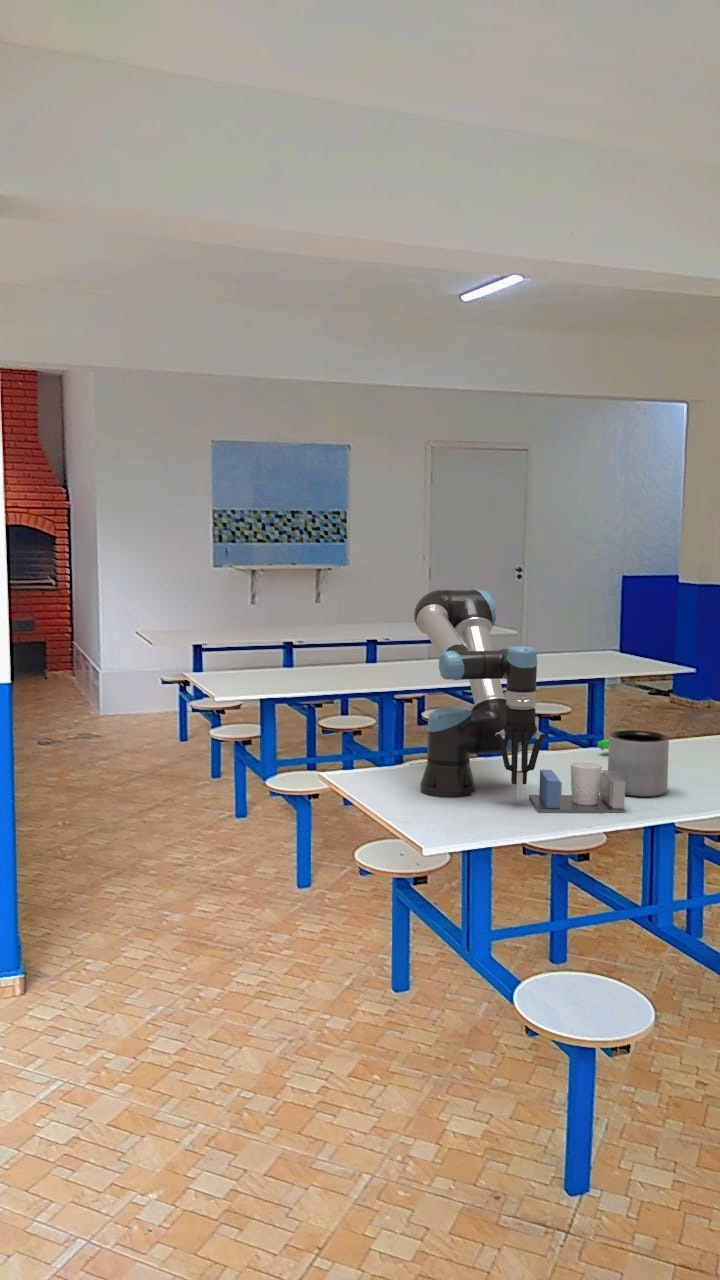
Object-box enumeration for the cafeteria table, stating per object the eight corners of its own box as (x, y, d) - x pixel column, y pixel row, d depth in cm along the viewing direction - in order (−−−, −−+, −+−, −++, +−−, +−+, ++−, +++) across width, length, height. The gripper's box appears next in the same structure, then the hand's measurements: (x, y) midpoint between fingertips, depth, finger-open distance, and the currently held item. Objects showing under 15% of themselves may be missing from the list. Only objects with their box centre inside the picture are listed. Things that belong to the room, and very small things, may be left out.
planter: (649, 782, 287) (651, 728, 285) (678, 797, 271) (680, 740, 269) (596, 785, 283) (598, 730, 281) (623, 800, 268) (625, 742, 266)
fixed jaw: (609, 808, 255) (610, 781, 254) (599, 796, 267) (600, 770, 266) (624, 808, 255) (625, 781, 254) (612, 796, 267) (613, 770, 266)
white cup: (571, 805, 258) (572, 767, 257) (568, 797, 266) (569, 760, 265) (602, 806, 257) (603, 768, 256) (598, 798, 265) (599, 761, 264)
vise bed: (537, 813, 255) (537, 809, 254) (529, 798, 268) (529, 794, 268) (625, 814, 254) (625, 810, 254) (611, 799, 268) (611, 795, 268)
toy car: (637, 750, 328) (637, 730, 328) (628, 754, 323) (628, 734, 322) (605, 746, 335) (606, 726, 335) (596, 749, 330) (596, 729, 330)
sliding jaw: (547, 807, 255) (547, 780, 255) (539, 795, 267) (540, 769, 267) (561, 808, 255) (562, 781, 255) (552, 795, 267) (553, 769, 266)
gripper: (497, 709, 255) (495, 800, 258) (548, 709, 255) (546, 800, 257) (493, 704, 262) (491, 792, 265) (543, 704, 262) (541, 792, 265)
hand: (518, 796), depth 261 cm, fingers closed
